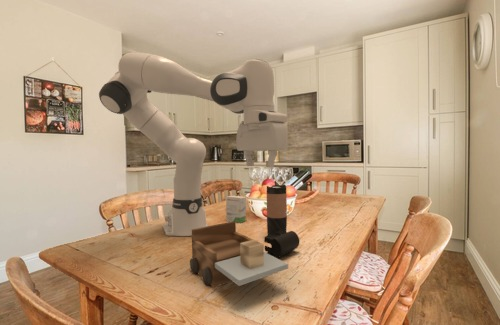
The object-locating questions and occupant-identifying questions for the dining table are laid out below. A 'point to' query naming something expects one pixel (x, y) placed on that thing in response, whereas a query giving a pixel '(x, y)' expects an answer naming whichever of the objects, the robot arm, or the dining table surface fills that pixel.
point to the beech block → (252, 254)
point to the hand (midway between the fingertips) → (259, 166)
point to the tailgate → (246, 275)
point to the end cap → (281, 243)
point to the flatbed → (214, 250)
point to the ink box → (236, 209)
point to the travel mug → (276, 209)
